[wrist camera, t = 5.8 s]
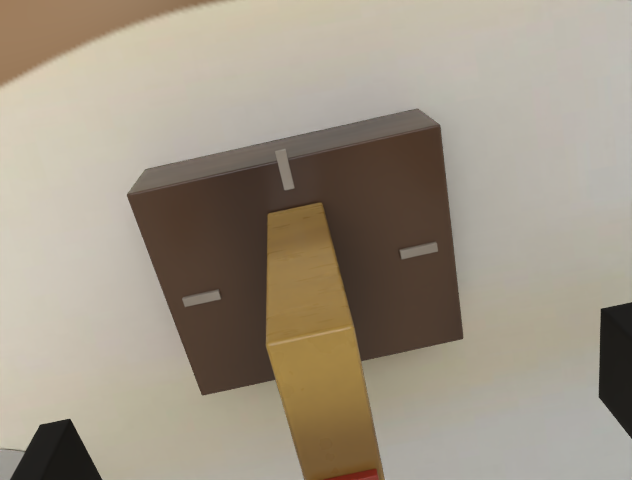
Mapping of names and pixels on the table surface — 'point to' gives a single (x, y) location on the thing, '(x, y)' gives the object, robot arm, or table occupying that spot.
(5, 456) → the coffee cup
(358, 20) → the table surface
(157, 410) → the table surface
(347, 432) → the lock knob
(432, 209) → the plate
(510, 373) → the table surface
